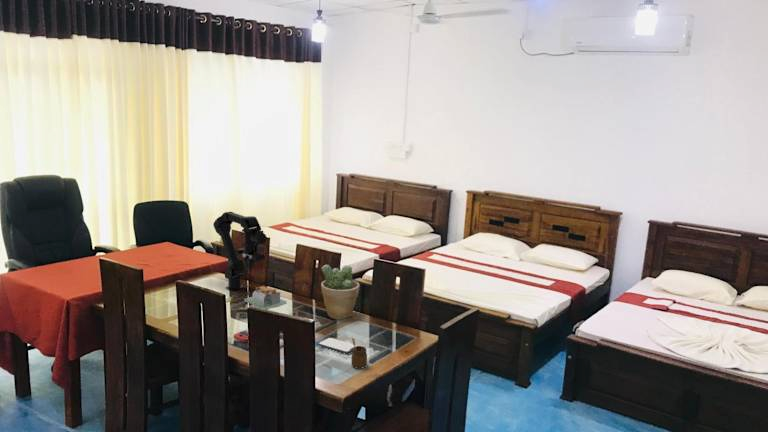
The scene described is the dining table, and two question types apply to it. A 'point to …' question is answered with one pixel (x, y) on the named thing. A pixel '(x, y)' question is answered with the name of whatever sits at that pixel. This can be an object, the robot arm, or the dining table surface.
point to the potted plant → (339, 291)
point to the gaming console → (242, 336)
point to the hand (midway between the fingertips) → (250, 270)
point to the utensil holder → (359, 355)
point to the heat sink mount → (265, 299)
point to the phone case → (337, 345)
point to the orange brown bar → (267, 289)
